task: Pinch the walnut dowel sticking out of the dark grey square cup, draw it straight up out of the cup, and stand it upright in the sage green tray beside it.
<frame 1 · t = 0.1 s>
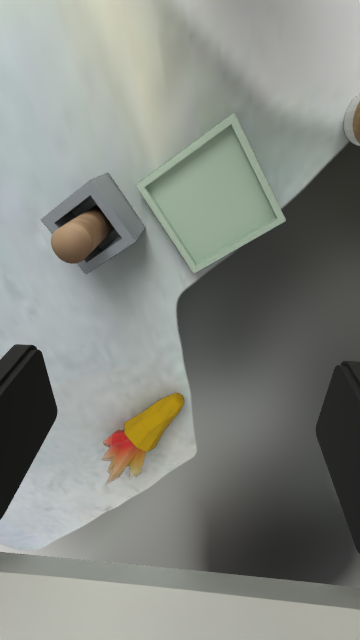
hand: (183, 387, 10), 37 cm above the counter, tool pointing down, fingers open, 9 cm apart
walnut dowel: (102, 219, 44), point 1 cm above the counter, touching square cup
square cup: (104, 217, 45), on the counter
sage tray: (211, 199, 42), on the counter
corn cob: (148, 420, 66), on the counter
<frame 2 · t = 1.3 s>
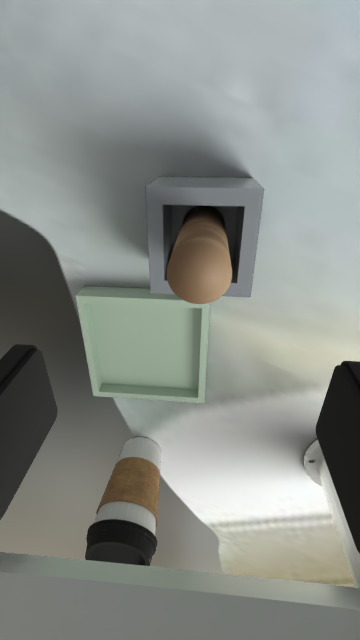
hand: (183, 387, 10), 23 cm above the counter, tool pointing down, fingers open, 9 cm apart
walnut dowel: (203, 227, 30), point 1 cm above the counter, touching square cup
square cup: (203, 224, 30), on the counter
sage tray: (149, 341, 38), on the counter
coffee cup: (142, 448, 48), on the counter
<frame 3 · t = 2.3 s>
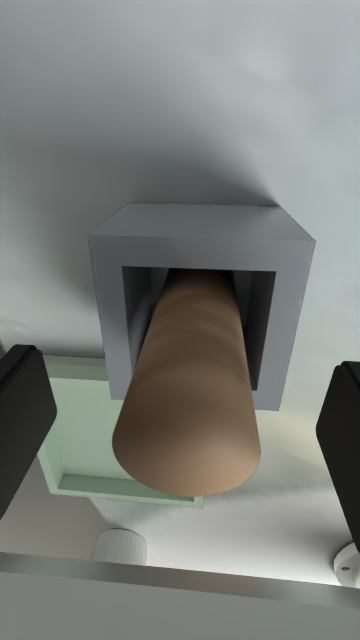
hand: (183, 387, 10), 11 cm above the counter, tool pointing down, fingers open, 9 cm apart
walnut dowel: (200, 280, 19), point 1 cm above the counter, touching square cup
square cup: (200, 274, 20), on the counter
sage tray: (125, 424, 27), on the counter
coffee cup: (123, 540, 37), on the counter
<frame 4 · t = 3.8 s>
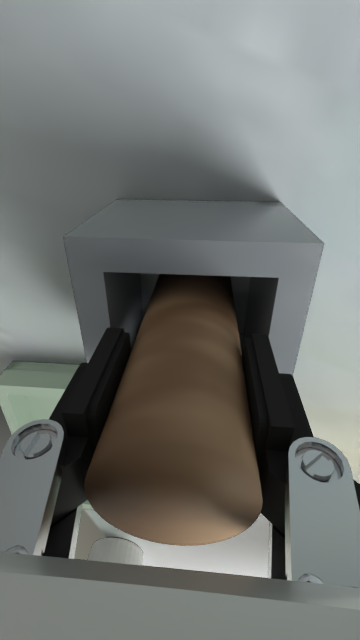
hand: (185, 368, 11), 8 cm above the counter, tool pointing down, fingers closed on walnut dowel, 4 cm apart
walnut dowel: (194, 284, 17), point 1 cm above the counter, touching gripper, square cup
square cup: (195, 276, 18), on the counter
sage tray: (117, 433, 26), on the counter
coffee cup: (118, 548, 36), on the counter
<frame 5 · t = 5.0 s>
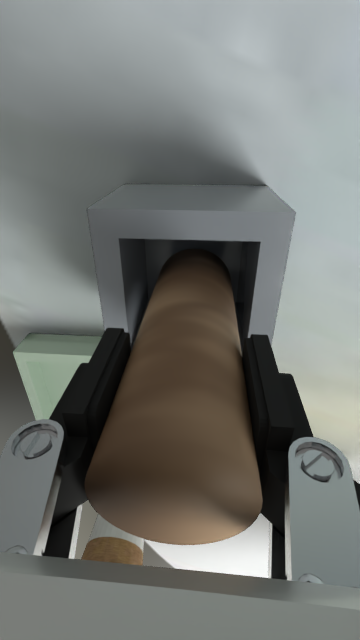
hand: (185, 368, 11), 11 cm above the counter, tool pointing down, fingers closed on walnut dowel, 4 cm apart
walnut dowel: (194, 283, 17), point 4 cm above the counter, touching gripper
square cup: (193, 253, 21), on the counter
sage tray: (123, 401, 28), on the counter
coffee cup: (122, 515, 39), on the counter
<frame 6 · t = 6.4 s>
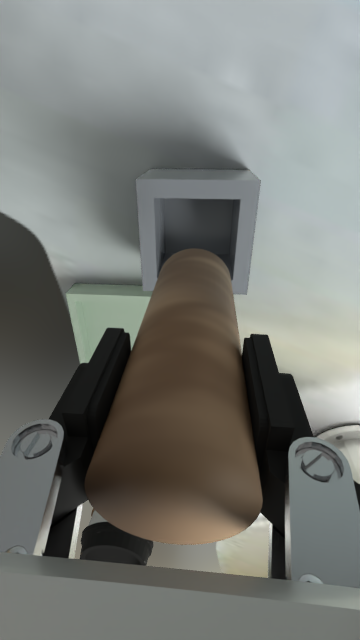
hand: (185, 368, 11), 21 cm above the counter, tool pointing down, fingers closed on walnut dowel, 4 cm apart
walnut dowel: (194, 283, 17), point 14 cm above the counter, touching gripper
square cup: (198, 218, 29), on the counter
sage tray: (143, 340, 37), on the counter
coffee cup: (138, 448, 47), on the counter
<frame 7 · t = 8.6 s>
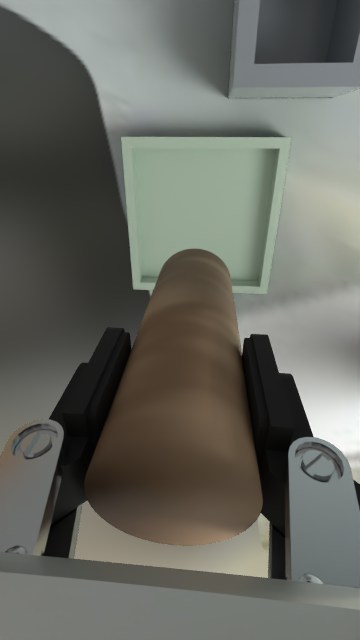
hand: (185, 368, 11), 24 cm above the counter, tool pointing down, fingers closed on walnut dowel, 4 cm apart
walnut dowel: (194, 283, 17), point 16 cm above the counter, touching gripper
square cup: (287, 31, 24), on the counter
sage tray: (202, 217, 32), on the counter
when the fingers open (9 cm above the counter, at t = 11.8 s): walnut dowel drops 1 cm, resting on sage tray.
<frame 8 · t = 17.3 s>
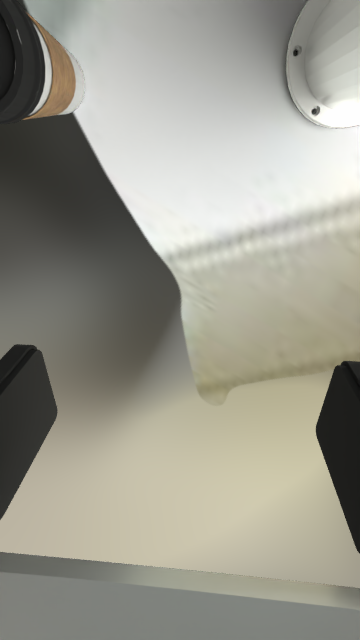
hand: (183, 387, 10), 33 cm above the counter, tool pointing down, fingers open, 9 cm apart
coffee cup: (59, 81, 34), on the counter
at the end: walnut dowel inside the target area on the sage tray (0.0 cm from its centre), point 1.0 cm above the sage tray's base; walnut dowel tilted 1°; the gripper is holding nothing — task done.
